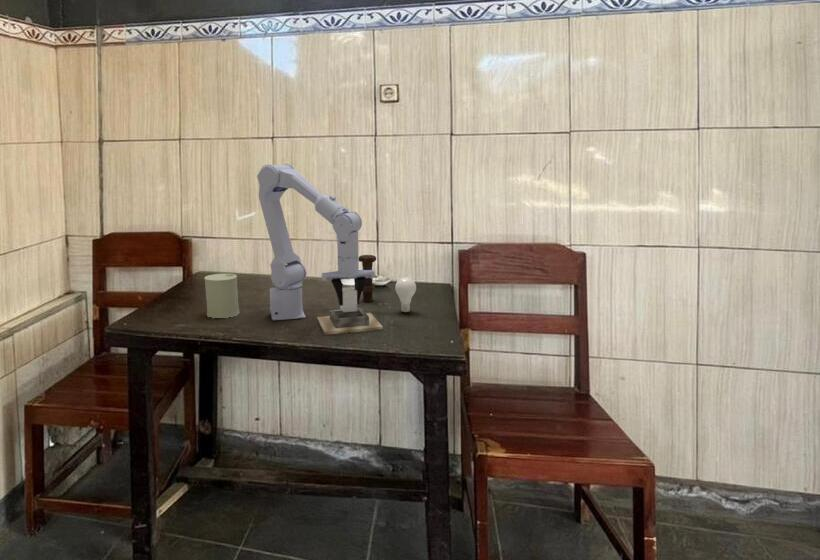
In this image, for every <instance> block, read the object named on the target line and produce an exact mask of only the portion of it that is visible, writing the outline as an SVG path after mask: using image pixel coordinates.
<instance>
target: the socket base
mask: <svg viewBox="0 0 820 560" xmlns="http://www.w3.org/2000/svg"><path fill="white" fill-rule="evenodd" d="M316 320H317V322H318V324H319V326H320V328H321V330H322V331H323V334H324V335H325V336H327V335H339V334H349V333H348V332H350V333H357V332H360V333H361V332H371V331H382V329H384V327H383V325H382V324H381V323H380V322H379V321H378V319H376V317H375V316H374V315H373V314H372V312H365V310H364V309H363V308H362V307H357V311H353V312H343V311H342V310H341V309H329V315H325V316H317V317H316Z"/></svg>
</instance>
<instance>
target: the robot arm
mask: <svg viewBox="0 0 820 560" xmlns="http://www.w3.org/2000/svg"><path fill="white" fill-rule="evenodd" d="M256 178H257V182H258V185H259V186H258V198H259V204H260V207H261V211H262V214H263V218H264V222H265V226H266V230H267V232H268V233H267V234H268V237H269V240H270V243H271V249H272V253H273V255H274V257H273V259H272V261H271V263H270V271H271V272H270V279H271V280H270V281H271V282H272V284H273V285H274V286H275V287H270V288H269V305H270V306H269V313H270V315H271V316H270V317H271V320H272V321H283V320H295V319H306V313H304V308H303V307H304V306H303V284H304V283H303V281H304V280H305V279H306V278H307V270H306V266H305V265H304V264H303V263H302V260H301V257H300V256H299V255H298V254H296V253H295V252H294V250H293V246H292V243H291V242H292V241H291V239H290V234H289V230H288V227H287V223H286V220H285V216H284V215H285V214H284V212H283V208H282V204H281V198H282V196H283V195H284V193H285V192H287V191H288V190H289V189H293V190H294V191H295V192H298V193H299V194H300V195H301V196H303V197H304V198H305V199H307V200H308V201H310V202H311V203H313V204H314V210H315V212H317V213H318V214H319V215H320V216H321V217H323V218H324V219H326V221H327V222H328V223H330V224H331V226H332V229H333V231H334V232H335V234H336V240H337V242H336V244H337V246H336V247H337V270H336V271H335V270H334V271H328V272H322V273H321V280H322V282H326V281H331V284H332V286H333V288H334V290H335V293H336V296H337V300H338V305H339V306H342V305H343V299H342V288H344V286H343V282H342V280H351V279H352V280H354V281H353V282H354V288H355V289H356V290H357V305H359V304H360V299H361V296H362V294H363V291H362V290H363V288H364V286H365V284H366V279H365V278H372V279H375V276H376V275H375V270H373V269H372V270H363V269H360V268H359V266H360V265H359V262H360V261H359V231H360V230H361V228H362V225H363V221H362V218H361V216H360V215H359V214H358V213H357V212H356V211H353V210H350V211H349V208H348V207H347V206H343V205H342V204H341V203H340V202H338V201H337V200H336V199H337V198H336V197H335V196H334V195H330V194H322V193H321V192H320V191H319V190H318V189H317V188H316V187H315V186H314V185H312V183H310V182H309V181H308V180H307V179H306V178H305V177H304V176H303V175H302V174H301V173H300V171H299V170H298V169H297V168H295V167H294V166H293V165H292V164H289V163H285V164H284V163H283V164H270V163H269V164H264V165H263V166H262V167H261V168H260V170H259V172H258V173H257V175H256Z"/></svg>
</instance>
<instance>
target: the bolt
mask: <svg viewBox="0 0 820 560" xmlns="http://www.w3.org/2000/svg"><path fill="white" fill-rule="evenodd" d="M358 258H359V262H361V266H362V270H373V264H374V262H376V261H377V256H375V255H372V254H362V255H358ZM365 279H366V284H365V286H364V288H363V290H362V301H363V302H367V303H368V302H369V303H370V302H373V292H374V291H375V290H376V285H375V284H374V283H373V278H365Z"/></svg>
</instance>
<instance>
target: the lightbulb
mask: <svg viewBox="0 0 820 560" xmlns="http://www.w3.org/2000/svg"><path fill="white" fill-rule="evenodd" d="M394 286H395V287H394V289H395V292H396V294H397V295H398V297H399V301H400V305H401V306H400V308H401V309H400V311H401V312H403V313H405V314H406V313H408V312H410V311H411V310H410V309H411V301H412V298H413V296H414V295H415V293H416V291H417V284H416V282H415V281H414V279H412V278H411V277H406V276H405V277H400V278H399V279H398V280H397V282H396V283H395V285H394Z"/></svg>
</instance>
